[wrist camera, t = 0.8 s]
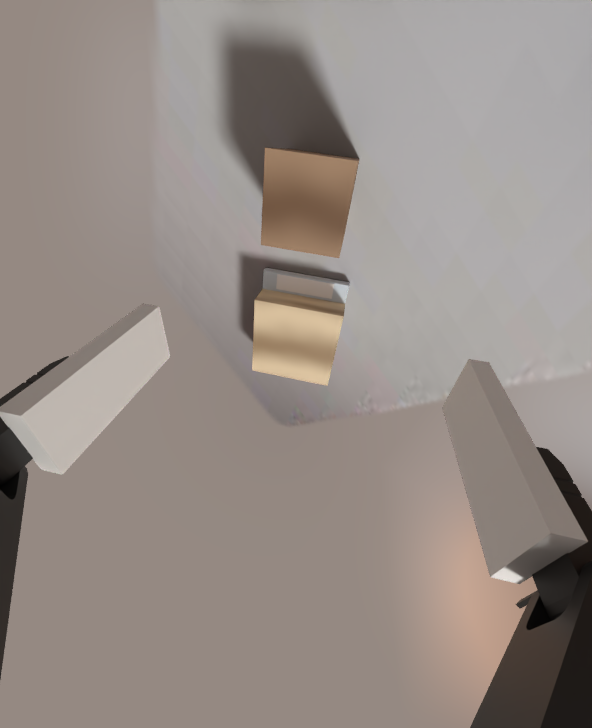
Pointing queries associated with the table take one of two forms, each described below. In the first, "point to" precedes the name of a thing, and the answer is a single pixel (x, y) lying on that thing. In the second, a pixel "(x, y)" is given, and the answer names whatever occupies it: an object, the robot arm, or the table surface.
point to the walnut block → (306, 200)
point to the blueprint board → (305, 285)
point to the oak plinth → (295, 335)
